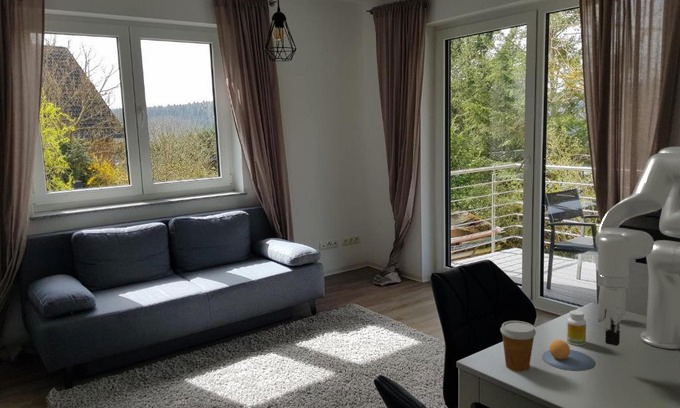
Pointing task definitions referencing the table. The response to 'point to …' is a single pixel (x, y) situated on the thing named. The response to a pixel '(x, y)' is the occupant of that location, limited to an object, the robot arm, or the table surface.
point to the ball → (559, 349)
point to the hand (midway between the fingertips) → (612, 343)
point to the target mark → (570, 361)
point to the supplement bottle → (576, 328)
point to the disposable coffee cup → (517, 344)
